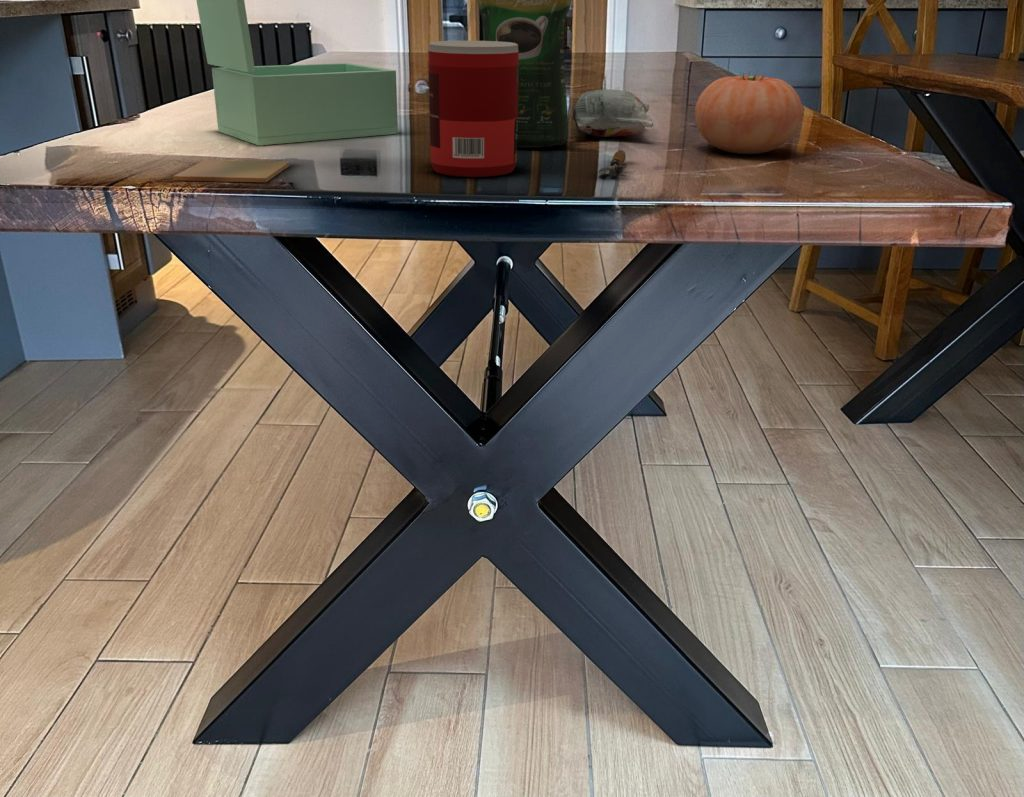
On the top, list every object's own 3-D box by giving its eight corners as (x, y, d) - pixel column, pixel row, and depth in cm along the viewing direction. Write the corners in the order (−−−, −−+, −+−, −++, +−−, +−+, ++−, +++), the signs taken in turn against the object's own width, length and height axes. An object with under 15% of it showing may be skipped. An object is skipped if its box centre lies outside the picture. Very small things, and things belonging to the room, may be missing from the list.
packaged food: (647, 128, 114) (650, 85, 112) (651, 144, 104) (654, 96, 102) (575, 127, 115) (576, 84, 113) (571, 142, 104) (572, 95, 102)
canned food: (533, 172, 87) (536, 44, 83) (461, 181, 83) (460, 46, 78) (484, 160, 93) (484, 39, 89) (414, 167, 88) (411, 41, 84)
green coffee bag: (570, 140, 105) (577, -46, 98) (564, 151, 98) (571, -48, 91) (483, 137, 106) (483, -47, 99) (471, 148, 99) (471, -49, 92)
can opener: (615, 160, 93) (615, 148, 92) (638, 162, 92) (639, 150, 92) (594, 177, 85) (595, 164, 84) (620, 179, 84) (620, 166, 84)
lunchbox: (350, 121, 116) (347, 62, 114) (398, 133, 108) (396, 70, 105) (218, 131, 107) (211, 67, 105) (258, 145, 99) (252, 76, 96)
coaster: (173, 180, 81) (173, 175, 81) (204, 164, 89) (204, 159, 89) (266, 182, 81) (266, 177, 81) (289, 166, 89) (289, 161, 88)
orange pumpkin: (819, 156, 98) (831, 74, 95) (739, 163, 93) (748, 78, 90) (747, 141, 107) (756, 65, 103) (670, 147, 102) (676, 68, 98)
